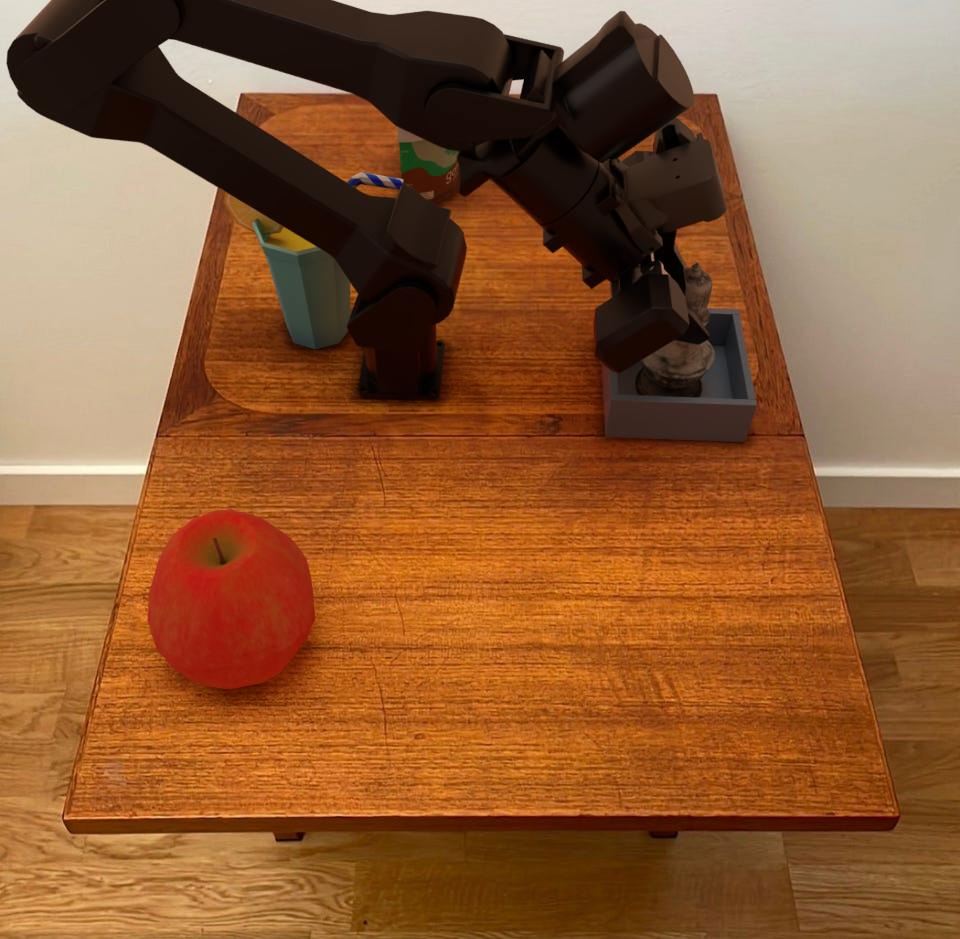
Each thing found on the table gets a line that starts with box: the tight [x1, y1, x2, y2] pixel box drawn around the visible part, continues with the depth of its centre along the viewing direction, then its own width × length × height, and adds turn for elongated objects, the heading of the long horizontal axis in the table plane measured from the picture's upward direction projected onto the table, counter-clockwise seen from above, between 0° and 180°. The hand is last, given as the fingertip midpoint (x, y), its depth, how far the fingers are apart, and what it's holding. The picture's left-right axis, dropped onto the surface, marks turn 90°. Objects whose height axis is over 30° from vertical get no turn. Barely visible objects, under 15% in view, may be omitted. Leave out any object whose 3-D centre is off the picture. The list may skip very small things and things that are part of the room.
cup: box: [222, 171, 403, 350], centre depth 78 cm, size 14×8×15 cm, turn 90°
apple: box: [147, 508, 316, 690], centre depth 61 cm, size 10×10×10 cm
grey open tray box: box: [600, 307, 758, 443], centre depth 78 cm, size 11×11×4 cm
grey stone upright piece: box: [636, 262, 715, 398], centre depth 74 cm, size 6×6×12 cm
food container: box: [396, 126, 459, 205], centre depth 94 cm, size 12×6×10 cm, turn 179°
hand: (701, 322), depth 74 cm, fingers closed on grey stone upright piece, 3 cm apart
